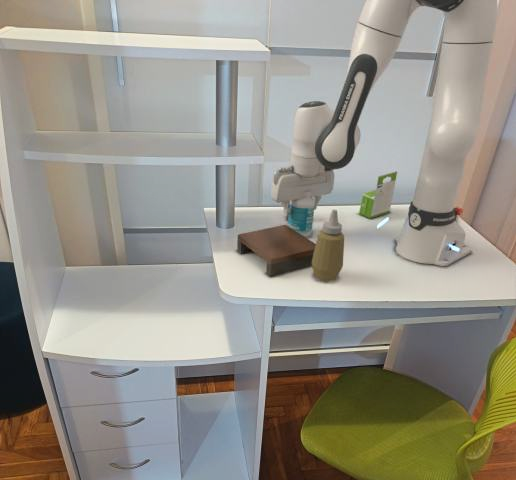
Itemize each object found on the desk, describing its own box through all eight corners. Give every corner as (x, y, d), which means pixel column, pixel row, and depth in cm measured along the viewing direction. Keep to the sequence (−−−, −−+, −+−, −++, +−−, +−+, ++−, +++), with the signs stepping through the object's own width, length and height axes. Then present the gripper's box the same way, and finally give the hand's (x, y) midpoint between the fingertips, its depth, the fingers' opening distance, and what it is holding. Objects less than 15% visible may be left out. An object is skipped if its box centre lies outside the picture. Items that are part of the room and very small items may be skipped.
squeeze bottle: (316, 285, 128) (325, 217, 118) (305, 270, 134) (312, 205, 124) (346, 282, 130) (357, 215, 120) (333, 268, 136) (343, 203, 126)
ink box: (377, 207, 175) (385, 166, 166) (390, 212, 171) (399, 171, 163) (358, 214, 169) (365, 172, 161) (370, 219, 166) (378, 176, 158)
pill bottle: (309, 240, 150) (314, 195, 142) (285, 236, 151) (289, 192, 143) (312, 230, 156) (317, 187, 148) (289, 227, 157) (292, 184, 149)
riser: (284, 240, 149) (285, 224, 146) (319, 264, 138) (321, 247, 135) (237, 251, 142) (237, 234, 139) (270, 277, 131) (271, 259, 128)
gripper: (281, 172, 135) (276, 221, 143) (340, 163, 144) (333, 210, 153) (268, 165, 139) (264, 213, 147) (326, 157, 149) (320, 203, 157)
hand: (299, 211), depth 150 cm, fingers open, 8 cm apart
